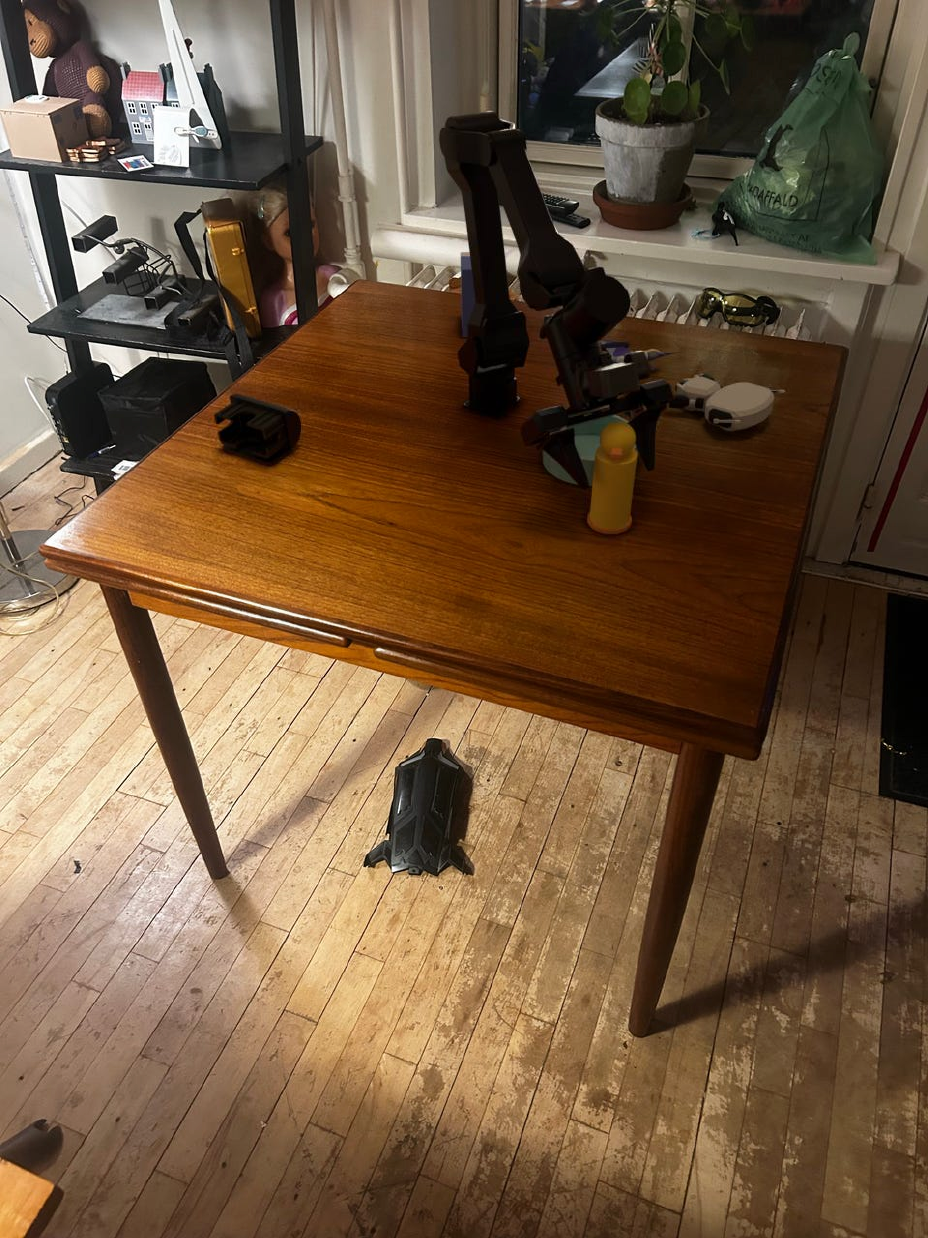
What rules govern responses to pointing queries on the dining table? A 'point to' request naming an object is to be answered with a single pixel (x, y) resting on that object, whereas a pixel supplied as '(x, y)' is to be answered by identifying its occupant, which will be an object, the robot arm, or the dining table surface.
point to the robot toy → (725, 401)
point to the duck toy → (613, 479)
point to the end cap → (258, 429)
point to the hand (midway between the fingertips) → (619, 479)
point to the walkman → (466, 291)
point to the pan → (583, 448)
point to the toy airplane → (627, 351)
